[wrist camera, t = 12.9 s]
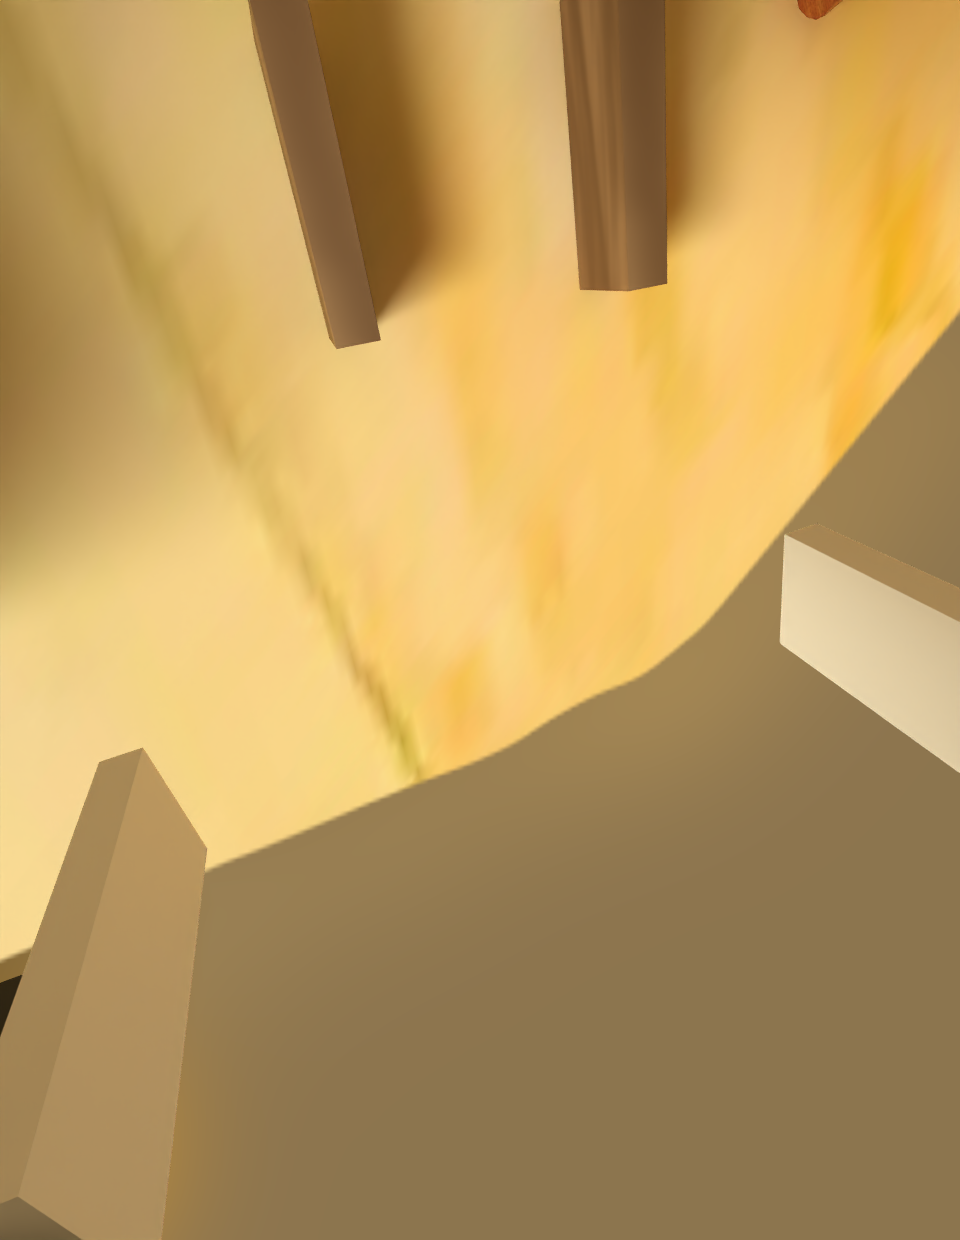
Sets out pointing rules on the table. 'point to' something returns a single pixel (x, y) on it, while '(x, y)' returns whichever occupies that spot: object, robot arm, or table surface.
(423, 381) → the table surface
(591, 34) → the slot holder
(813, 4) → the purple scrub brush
